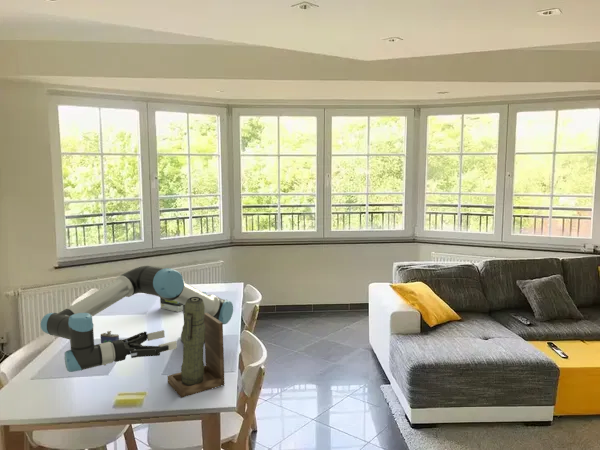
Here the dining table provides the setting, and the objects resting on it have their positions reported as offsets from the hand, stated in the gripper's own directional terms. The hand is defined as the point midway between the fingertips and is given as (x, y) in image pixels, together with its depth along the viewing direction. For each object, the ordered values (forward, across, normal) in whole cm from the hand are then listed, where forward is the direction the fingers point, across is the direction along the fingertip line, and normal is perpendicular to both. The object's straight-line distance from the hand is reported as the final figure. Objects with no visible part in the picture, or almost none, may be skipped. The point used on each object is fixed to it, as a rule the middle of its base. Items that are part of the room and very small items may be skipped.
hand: (170, 339), depth 186 cm
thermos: (+9, -1, -20) cm, 22 cm away
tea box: (+37, -99, -21) cm, 108 cm away
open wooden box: (+10, 0, -21) cm, 23 cm away
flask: (-11, -52, -21) cm, 57 cm away
